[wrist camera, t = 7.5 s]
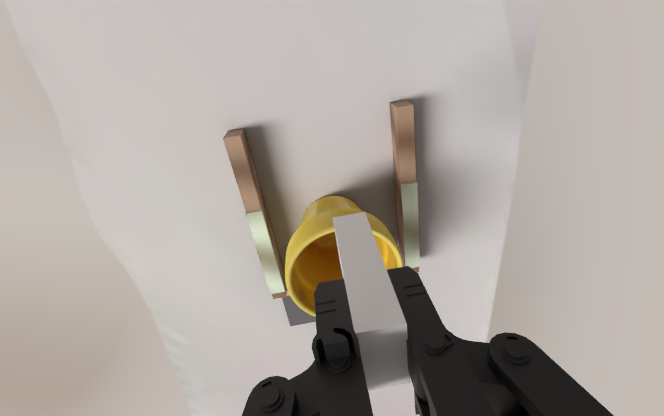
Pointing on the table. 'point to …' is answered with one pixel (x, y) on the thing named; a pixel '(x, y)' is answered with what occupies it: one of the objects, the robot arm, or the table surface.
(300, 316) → the mat
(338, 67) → the table surface
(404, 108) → the pair of brown bars
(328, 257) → the plant pot
